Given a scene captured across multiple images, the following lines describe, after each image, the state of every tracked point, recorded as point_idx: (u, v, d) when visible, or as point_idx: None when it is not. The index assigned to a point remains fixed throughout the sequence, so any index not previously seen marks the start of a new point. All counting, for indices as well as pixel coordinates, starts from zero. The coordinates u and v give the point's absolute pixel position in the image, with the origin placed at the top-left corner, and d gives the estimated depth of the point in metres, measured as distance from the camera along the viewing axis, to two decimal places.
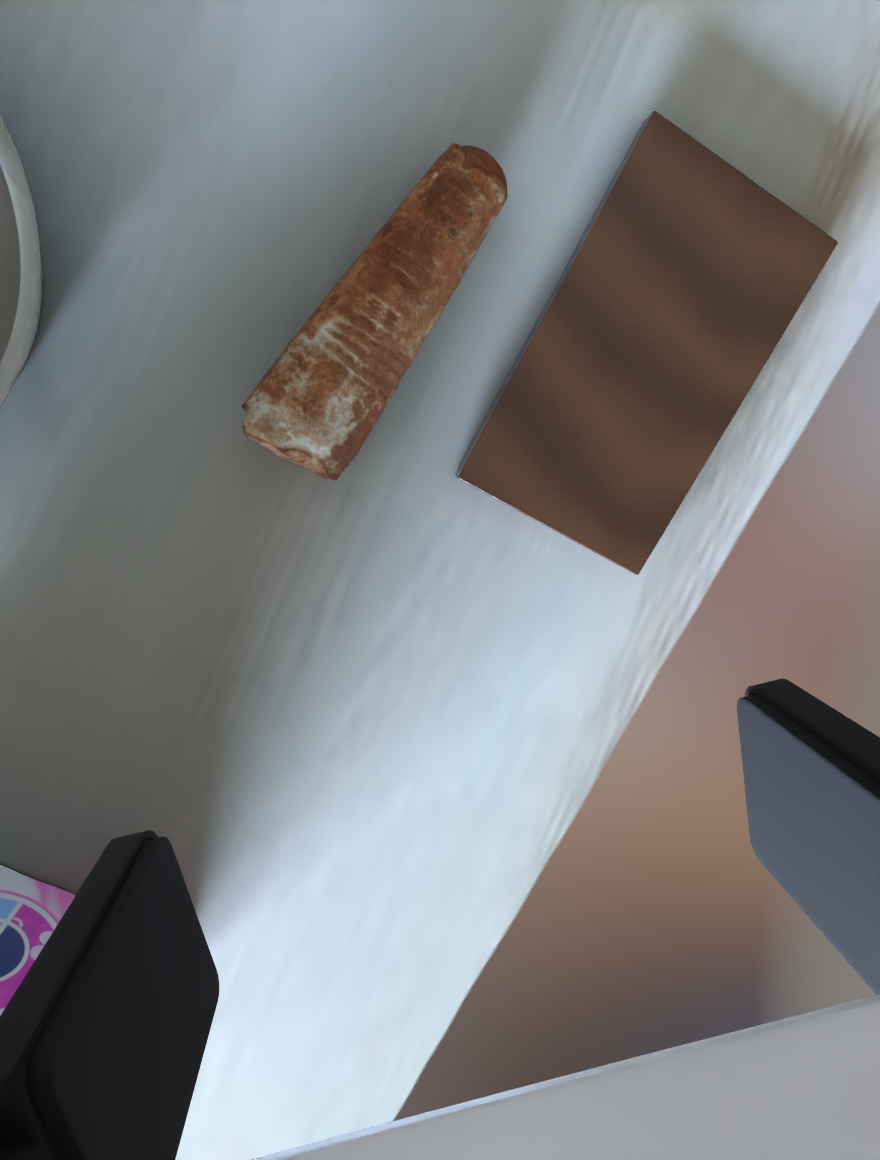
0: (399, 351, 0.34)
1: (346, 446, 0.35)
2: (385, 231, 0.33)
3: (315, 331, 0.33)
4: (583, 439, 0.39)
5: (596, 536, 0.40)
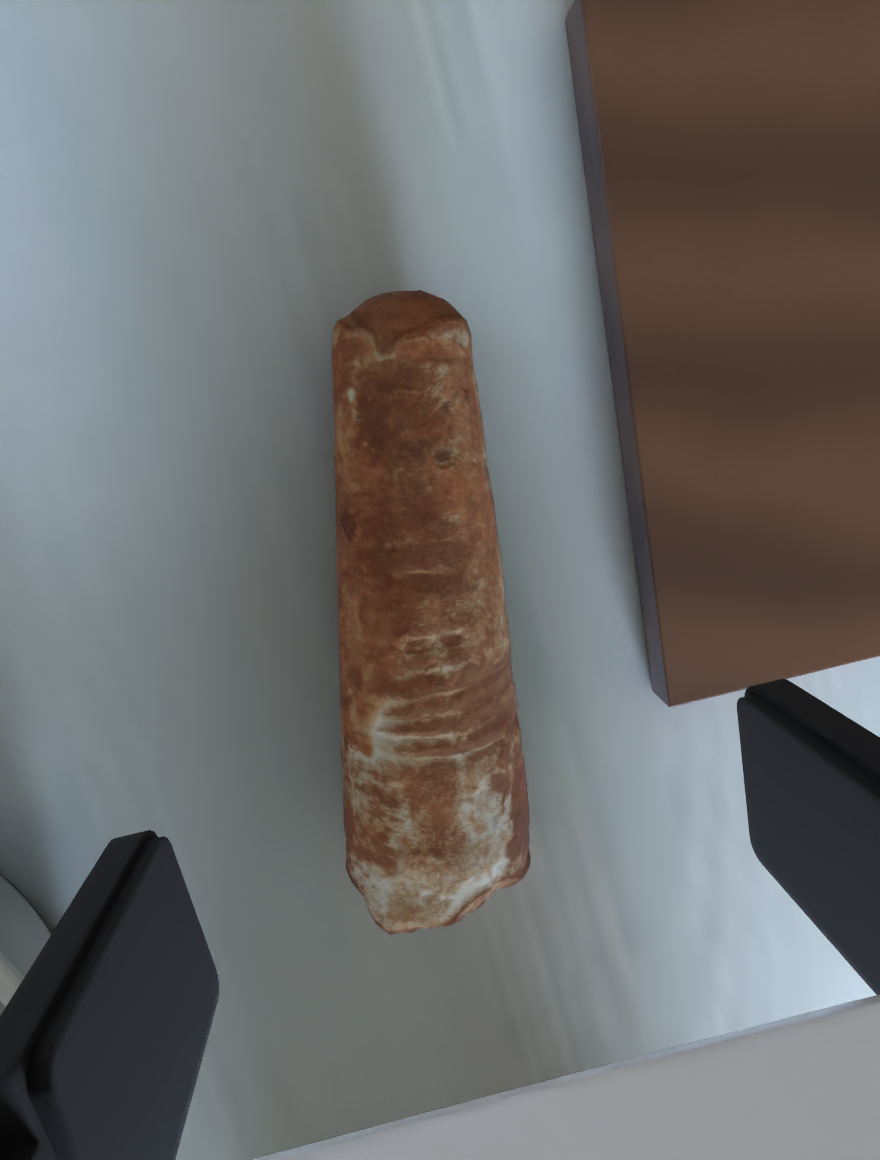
0: (494, 666, 0.20)
1: (518, 827, 0.21)
2: (348, 530, 0.19)
3: (368, 740, 0.19)
4: (805, 528, 0.22)
5: None
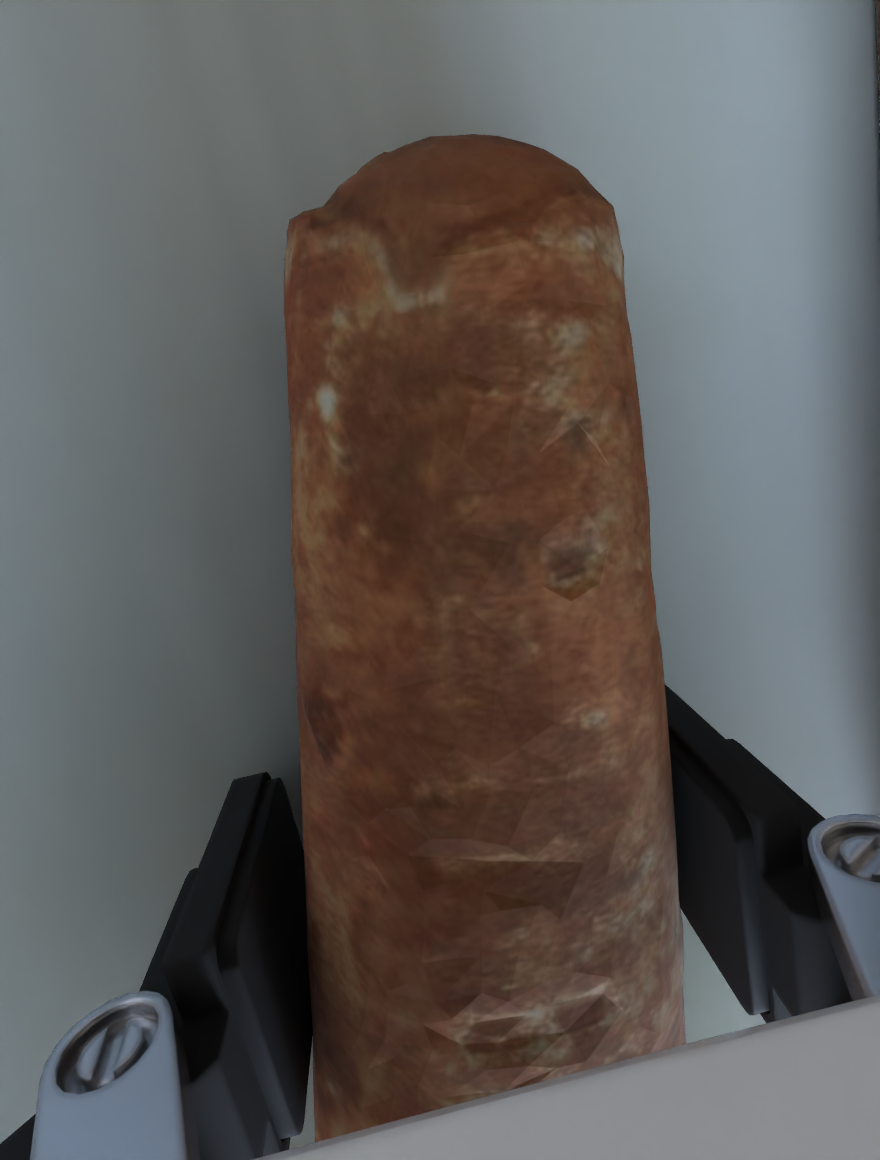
0: (669, 1034, 0.08)
1: None
2: (322, 735, 0.08)
3: None
4: None
5: None
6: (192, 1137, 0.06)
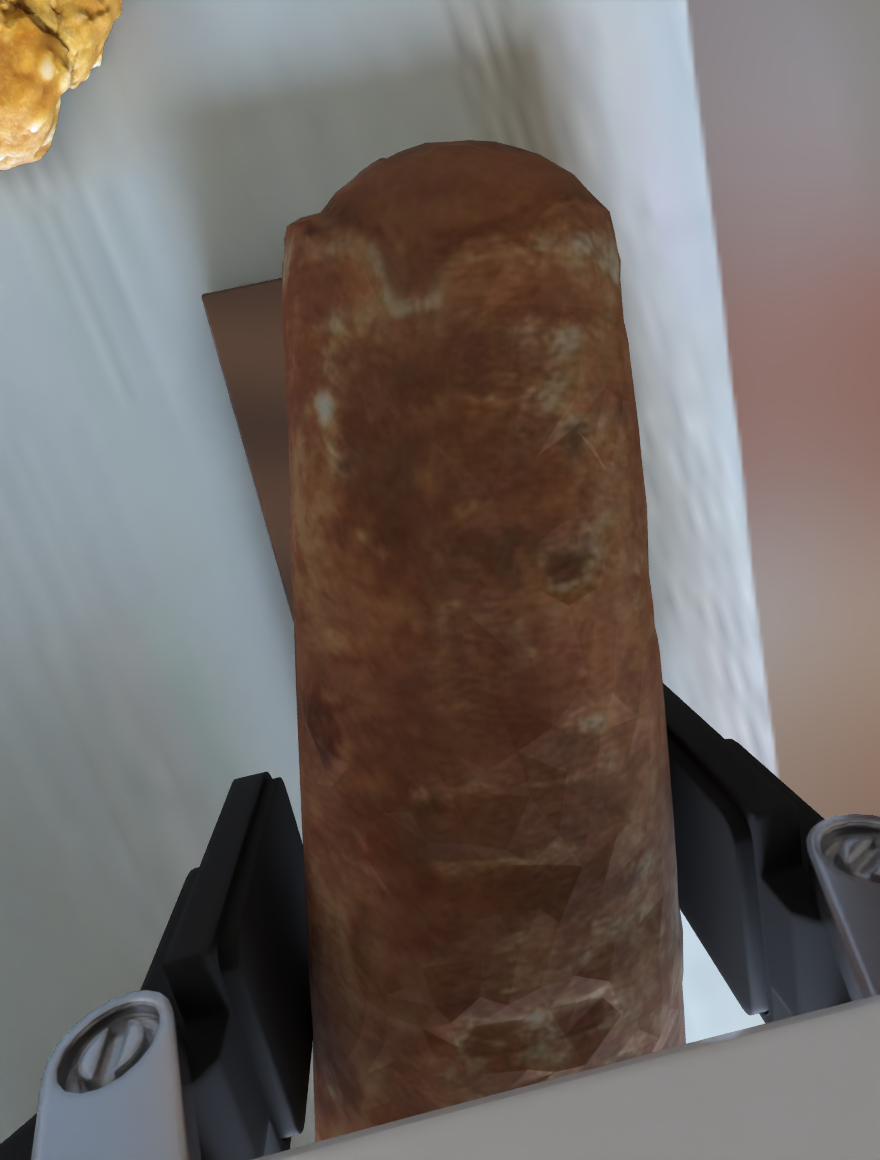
0: (668, 1037, 0.08)
1: None
2: (321, 740, 0.08)
3: None
4: None
5: None
6: (193, 1136, 0.06)
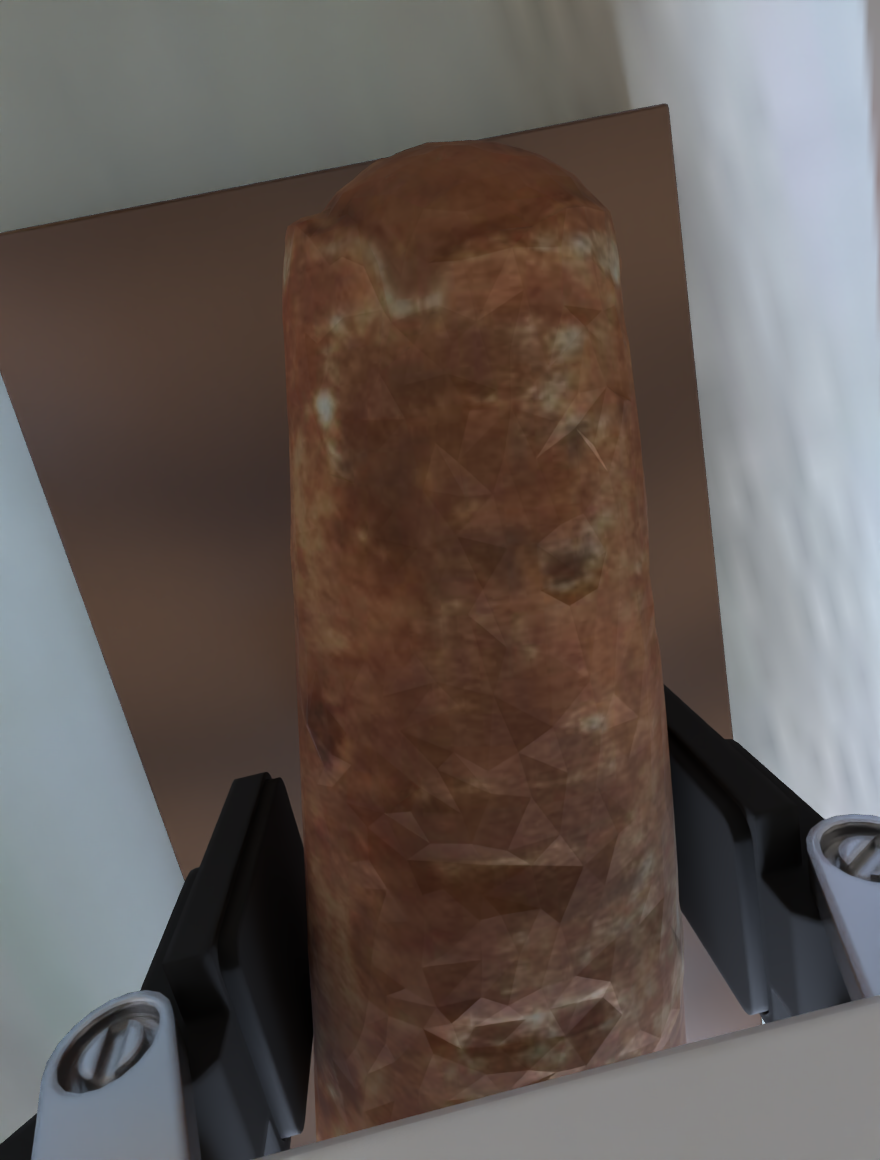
0: (669, 1037, 0.08)
1: None
2: (322, 740, 0.08)
3: None
4: None
5: None
6: (193, 1136, 0.06)
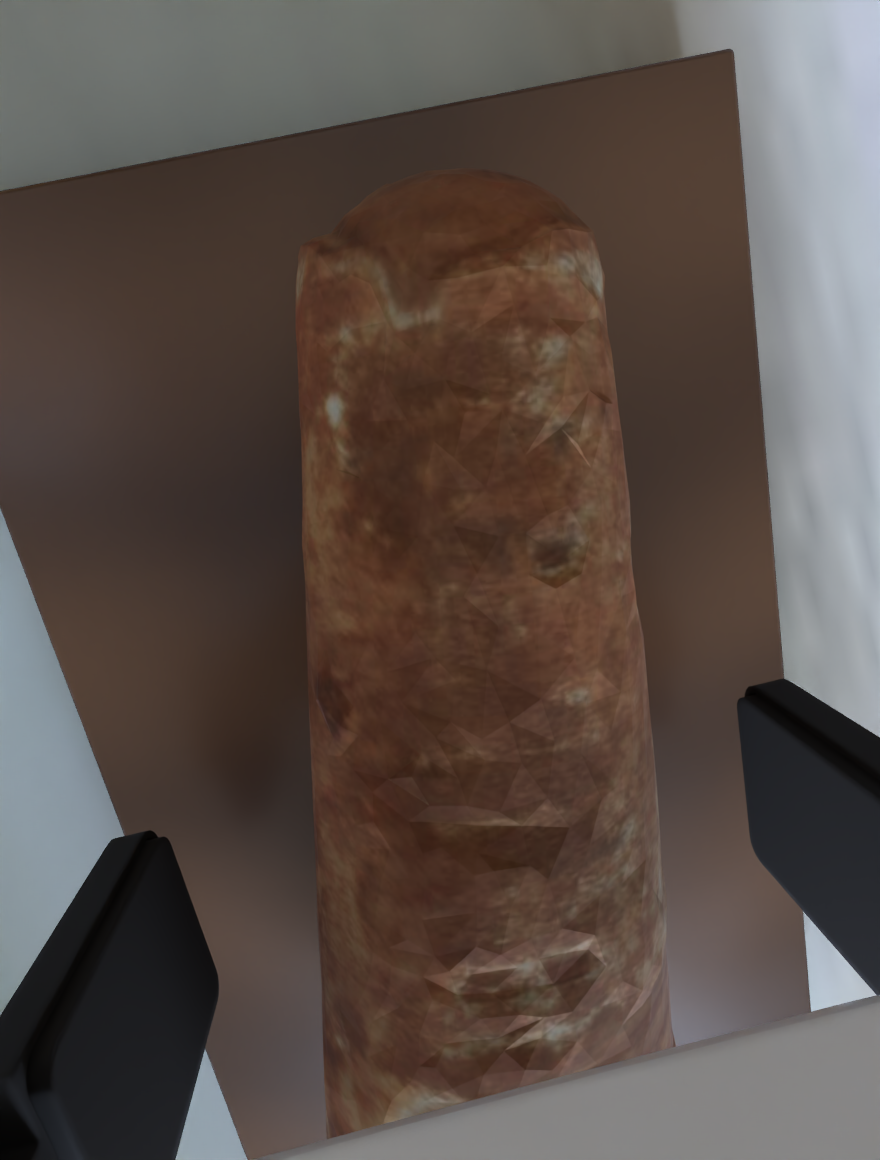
0: (651, 991, 0.09)
1: None
2: (331, 713, 0.08)
3: None
4: None
5: None
6: None
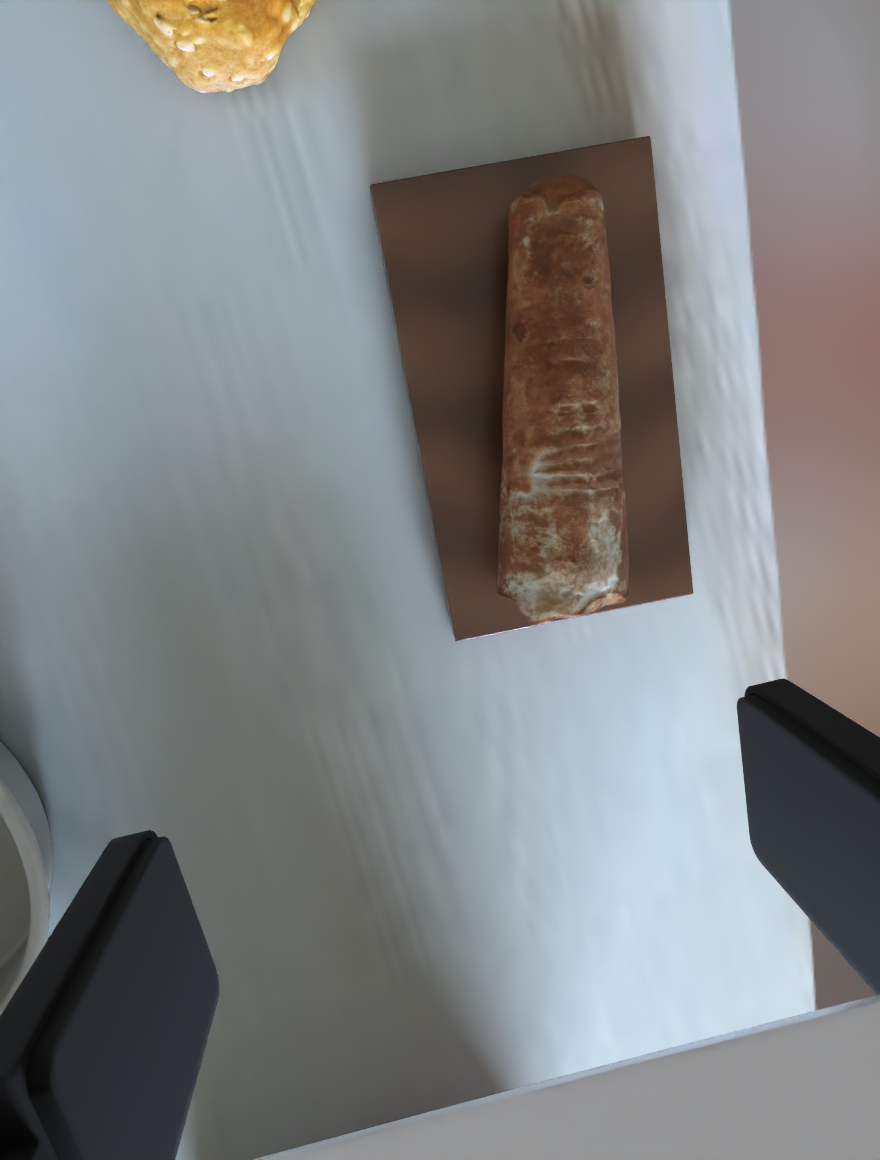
0: (614, 433, 0.29)
1: (624, 558, 0.30)
2: (519, 334, 0.28)
3: (528, 481, 0.28)
4: None
5: None
6: None
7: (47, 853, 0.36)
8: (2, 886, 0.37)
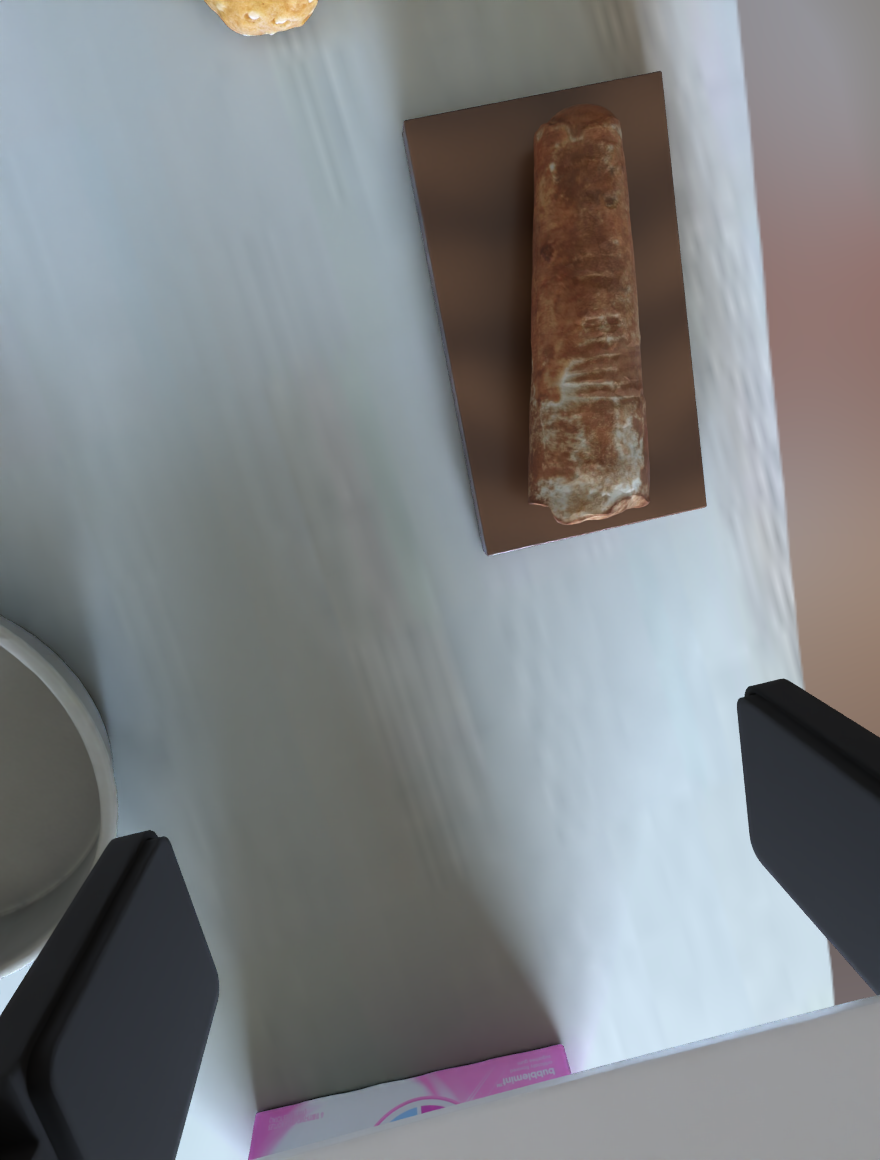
0: (635, 346, 0.31)
1: (646, 464, 0.32)
2: (547, 254, 0.30)
3: (557, 390, 0.31)
4: None
5: None
6: None
7: None
8: (66, 801, 0.39)
